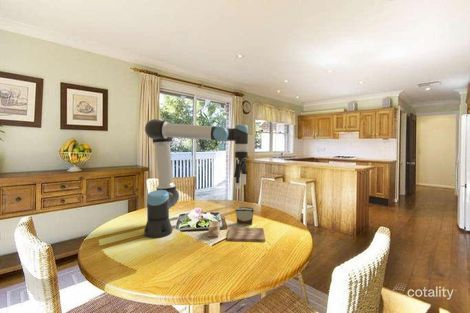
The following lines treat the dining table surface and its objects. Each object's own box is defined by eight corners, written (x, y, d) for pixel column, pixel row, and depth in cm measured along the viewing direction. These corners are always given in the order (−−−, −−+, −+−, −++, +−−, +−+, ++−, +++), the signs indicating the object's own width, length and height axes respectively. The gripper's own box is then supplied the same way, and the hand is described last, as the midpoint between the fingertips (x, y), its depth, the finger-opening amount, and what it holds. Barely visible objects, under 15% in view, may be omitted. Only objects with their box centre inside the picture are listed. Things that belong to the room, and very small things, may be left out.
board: (227, 240, 126) (227, 238, 126) (229, 229, 142) (229, 227, 142) (265, 241, 125) (265, 239, 125) (263, 230, 141) (263, 228, 141)
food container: (254, 221, 156) (254, 206, 155) (254, 224, 150) (254, 209, 149) (235, 220, 157) (235, 205, 156) (234, 224, 151) (234, 208, 150)
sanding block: (208, 237, 130) (208, 226, 129) (211, 231, 139) (211, 221, 138) (217, 237, 130) (217, 227, 129) (219, 231, 139) (219, 221, 138)
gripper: (242, 152, 129) (241, 191, 130) (251, 150, 153) (251, 183, 154) (229, 151, 131) (228, 190, 132) (240, 150, 155) (240, 182, 156)
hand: (240, 186), depth 143 cm, fingers open, 13 cm apart
